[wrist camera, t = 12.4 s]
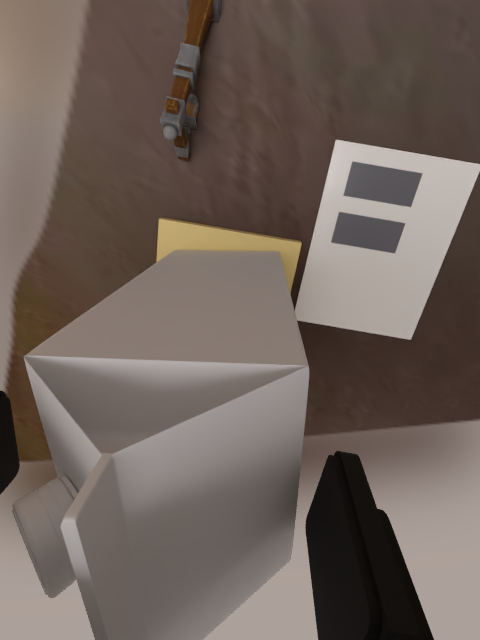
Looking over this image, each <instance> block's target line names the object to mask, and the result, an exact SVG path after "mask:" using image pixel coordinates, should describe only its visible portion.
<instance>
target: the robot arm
mask: <svg viewBox="0 0 480 640" xmlns="http://www.w3.org/2000/svg"><path fill="white" fill-rule="evenodd" d="M18 470H19V457H18V451H17V444H16V437H15V430H14V424H13V417H12V410H11V403H10V399H9V398H8V397H6V394H5V393H4V392H3V391H0V494H1V493H2V492H3V491H4V490H5V488H6V487H7V486H8V485H9V484H10V483H11V481H12V480H13V479H14V478H15V476H16V475H17V473H18ZM306 537H307V546H308V554H309V563H310V572H311V580H312V589H313V598H314V606H315V615H316V624H317V632H318V640H434V639H433V636H432V633H431V630H430V628H429V625H428V623H427V620H426V617H425V614H424V612H423V609H422V606H421V604H420V601H419V598H418V595H417V593H416V590H415V587H414V585H413V582H412V579H411V577H410V574H409V571H408V569H407V566H406V564H405V561H404V558H403V555H402V552H401V550H400V547H399V544H398V542H397V539H396V536H395V534H394V531H393V528H392V526H391V523H390V521H389V518H388V516H387V514H386V513H385V512H384V511H383V510H380V509H377V507H376V504H375V501H374V498H373V495H372V492H371V489H370V487H369V484H368V481H367V478H366V475H365V472H364V469H363V466H362V464H361V461H360V458H359V456H358V455H356V454H352V453H346V452H341V451H336V452H335V454H334V456H333V455H329V456H328V458H327V461H326V464H325V466H324V469H323V472H322V476H321V478H320V481H319V484H318V486H317V489H316V492H315V495H314V498H313V501H312V504H311V507H310V510H309V512H308V515H307V519H306Z"/></svg>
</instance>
